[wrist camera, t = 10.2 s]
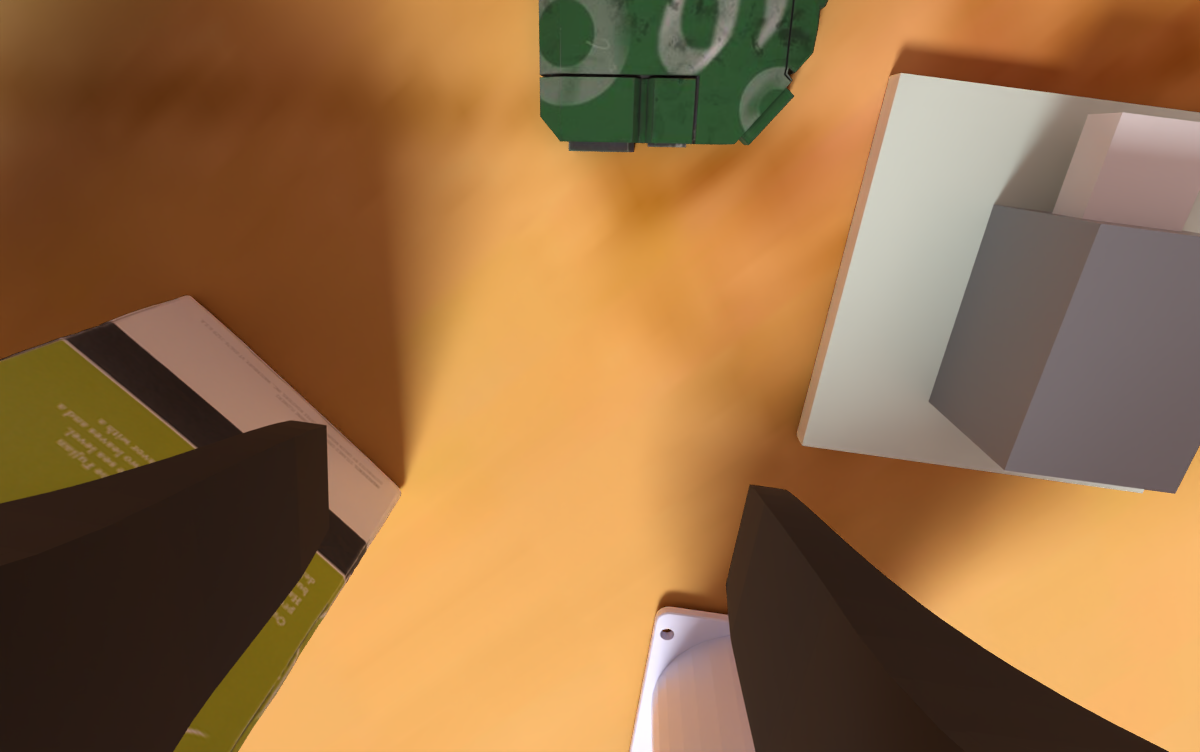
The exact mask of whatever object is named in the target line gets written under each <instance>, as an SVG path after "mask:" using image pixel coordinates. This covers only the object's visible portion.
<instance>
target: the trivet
mask: <svg viewBox="0 0 1200 752" xmlns="http://www.w3.org/2000/svg"><path fill="white" fill-rule="evenodd" d="M1119 112H1124V113H1132V114H1140V115H1148V116H1155V117H1163V118H1171V119H1179V120H1186V121H1194V122H1200V112H1192V111H1185V110H1177V109H1170V108H1162V107H1154V106H1147V105H1139V104H1132V103H1124V102H1117V101H1109V100H1102V99H1094V98H1087V97H1079V96H1072V95H1064V94H1057V93H1049V92H1041V91H1034V90H1026V89H1019V88H1011V87H1004V86H996V85H989V84H981V83H974V82H966V81H959V80H951V79H944V78H936V77H928V76H921V75H913V74H906V73H898V74H895V75H891V76H890V77H889V81H888V85H887V88H886V92H885V96H884V100H883V104H882V108H881V111H880V115H879V119H878V123H877V127H876V131H875V135H874V138H873V142H872V146H871V150H870V154H869V158H868V161H867V165H866V169H865V173H864V177H863V181H862V184H861V188H860V192H859V196H858V200H857V204H856V207H855V211H854V215H853V219H852V223H851V227H850V231H849V234H848V238H847V242H846V246H845V250H844V254H843V257H842V261H841V265H840V269H839V273H838V277H837V280H836V284H835V288H834V292H833V296H832V300H831V304H830V307H829V311H828V315H827V319H826V323H825V327H824V330H823V334H822V338H821V342H820V346H819V350H818V353H817V357H816V361H815V365H814V369H813V373H812V377H811V380H810V384H809V388H808V392H807V396H806V400H805V403H804V407H803V411H802V415H801V419H800V423H799V426H798V430H797V434H796V435H797V437H798V439H799V441H800V443H801V445H802V446H809V447H816V448H823V449H830V450H837V451H844V452H851V453H859V454H866V455H873V456H880V457H887V458H894V459H901V460H909V461H916V462H923V463H930V464H937V465H944V466H951V467H959V468H966V469H973V470H980V471H987V472H994V473H1001V474H1009V475H1016V476H1023V477H1030V478H1037V479H1044V480H1051V481H1059V482H1066V483H1073V484H1080V485H1087V486H1094V487H1101V488H1109V489H1116V490H1123V491H1130V492H1137V493H1143V491H1144V489H1138V488H1130V487H1123V486H1116V485H1108V484H1101V483H1094V482H1086V481H1079V480H1072V479H1064V478H1057V477H1050V476H1042V475H1035V474H1028V473H1020V472H1013V471H1006V470H1003V469H1002V468H1001V467H1000V466H999V465H998V464H997V463H996V462H995V461H993V460H992V459H991V458H990V457H989V456H988V455H987V454H986V453H985V452H983V451H982V450H981V449H980V448H979V447H978V446H977V445H976V444H975V443H973V442H972V441H971V440H970V439H969V438H968V437H967V436H966V435H965V434H964V433H962V432H961V431H960V430H959V429H958V428H957V427H956V426H955V425H954V424H952V423H951V422H950V421H949V420H948V419H947V418H946V417H945V416H944V415H942V414H941V413H940V412H939V411H938V410H937V409H936V408H935V407H934V406H933V405H931V404H930V403H929V399H930V396H931V393H932V390H933V386H934V383H935V380H936V377H937V374H938V371H939V368H940V365H941V362H942V359H943V356H944V353H945V350H946V347H947V344H948V341H949V338H950V335H951V332H952V329H953V326H954V323H955V320H956V317H957V314H958V311H959V308H960V305H961V302H962V299H963V296H964V293H965V290H966V287H967V284H968V281H969V278H970V275H971V272H972V268H973V265H974V262H975V259H976V256H977V253H978V250H979V247H980V244H981V241H982V238H983V235H984V232H985V229H986V226H987V223H988V220H989V217H990V214H991V211H992V208H993V205H1001V206H1009V207H1017V208H1024V209H1032V210H1039V211H1047V212H1053V210H1054V207H1055V204H1056V201H1057V199H1058V196H1059V193H1060V190H1061V188H1062V185H1063V182H1064V179H1065V177H1066V174H1067V171H1068V168H1069V166H1070V163H1071V160H1072V157H1073V155H1074V152H1075V149H1076V146H1077V144H1078V141H1079V138H1080V135H1081V133H1082V130H1083V127H1084V124H1085V122H1086V119H1087V116H1088V114H1103V113H1119ZM1182 230H1183V231H1189V232H1195V233H1200V190H1199V193H1198V195H1197V197H1196V199H1195V202H1194V204H1193V206H1192V209H1191V211H1190V213H1189V215H1188V218H1187V220H1186V222H1185V225H1184V227H1183V229H1182Z"/></svg>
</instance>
